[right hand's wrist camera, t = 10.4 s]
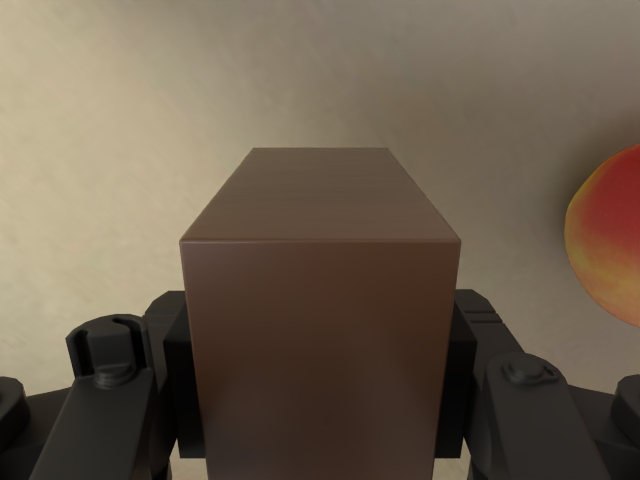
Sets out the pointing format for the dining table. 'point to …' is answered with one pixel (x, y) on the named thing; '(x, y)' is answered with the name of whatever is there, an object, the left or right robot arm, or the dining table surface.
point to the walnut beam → (320, 318)
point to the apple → (608, 235)
